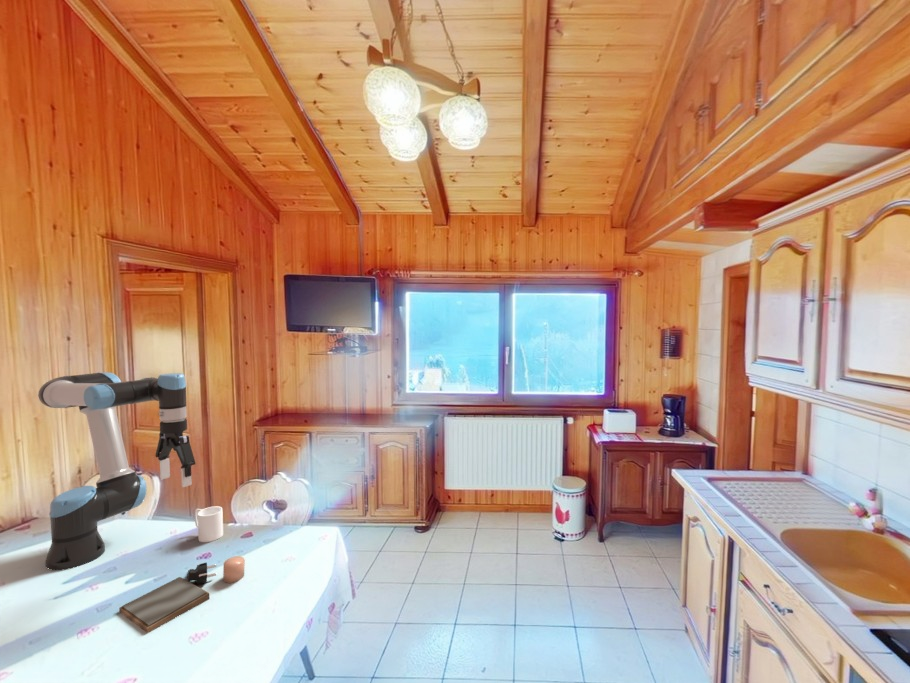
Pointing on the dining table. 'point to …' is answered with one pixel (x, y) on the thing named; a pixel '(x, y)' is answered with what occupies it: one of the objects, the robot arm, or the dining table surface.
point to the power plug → (200, 573)
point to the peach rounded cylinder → (233, 569)
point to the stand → (164, 604)
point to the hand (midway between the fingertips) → (175, 482)
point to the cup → (209, 523)
